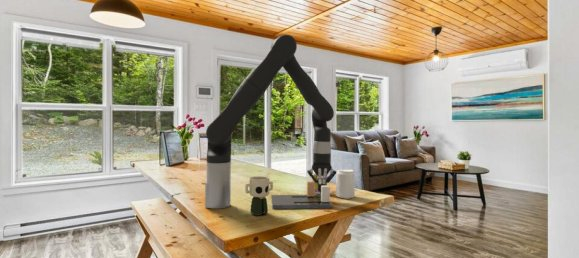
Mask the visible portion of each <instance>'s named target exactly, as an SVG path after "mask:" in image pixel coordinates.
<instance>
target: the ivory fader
mask: <svg viewBox="0 0 579 258" xmlns="http://www.w3.org/2000/svg"><path fill="white" fill-rule="evenodd" d="M330 194H331V186H330V185H327V186H321V194H320V195H321V201H322V202H330V201H331V200H330V198H331V197H330V196H331V195H330ZM330 203H331V202H330Z"/></svg>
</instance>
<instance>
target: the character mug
mask: <svg viewBox="0 0 579 258" xmlns="http://www.w3.org/2000/svg"><path fill="white" fill-rule="evenodd" d="M244 186H245V187H244V188H245V191H244V192H245V194H249V196H251V197H252V198H251V203H250V213H251V214H252V215H256V216H258V215H259V216H260V215H262V214H263V215H266V214H268V212H269V211H268V210H269V209H268V208H269V207H268V200H267V197H268V196H269V194H270V191H273V189H274V188H273V187H274V182H273V181H270V177H269V176H263V175H260V176H259V175H257V176H251V177H249V183H246V184H245V185H244Z"/></svg>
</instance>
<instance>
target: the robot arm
mask: <svg viewBox="0 0 579 258" xmlns="http://www.w3.org/2000/svg"><path fill="white" fill-rule="evenodd" d="M297 46H298V45H297V41H296V39H295V38H294V37H293V36H292V35H289V34H282V35H279V36H277V38H275V39H274V40H273V41H272V42H271V45H270V50H269V51H268V53H267V54H266V56H265V57H264V58H263V59H262V61H261V62H260V63H259V64H258V65H257V66H256V67H255V68H254V69H252V70H251V71H250V72H249V74H247V76H246V77H245V78H244V79H243V81H242V82H241V83H240V85H239V86H238V88H237V89H236V90H235V92H234V93H233V95H232V97H231V98H230V100H229V102H228V103H227V105H226V106H225V108H224V109H223V110H222V111H221V112H220V113H219V115H217V117H216V118H214V120H213V121H211V123H209V124H208V126H207V128H206V130H205V136H206V139H207V149H206V150H207V151H206V182H205V185H204V187H205V188H204V191H205V192H204V194H205V195H204V199H205V200H204V201H205V202H204V208H205V209H206V208H209V209H225V208H229V207H230V206H231V202H232V200H231V193H232V191H231V189H232V188H231V183H232V182H231V181H232V178H231V177H232V171H231V168H232V135H233V132H234V131H235V129H236V128H237V126H238V124H239V123H240V121H241V120H242V119H243V118H244V117H245V116H246V114H248V113H249V112H250V111H251V109H252V108H254V106H255V105H256V104H257V103H258V101H260V99H261V98H262V97H263V95H264V94H265V93H266V91H268V88H269V86H270V85H271V84H272V82H273V81H274V80H275V78H276V76H277V75H278V73H279V72H280V70H281V69H282V68H283V69H284V70H285V72H286V73H287V74H288V76H289V77H290V79H291V80H292V82H293V83H294V85H295V87H296V88H297V90H298V91H299V93H300V94H301V96H302V98H303V99H304V101H305V102H306V103H307V104H308V105H309V106H311V107H312V108H313V109H312V112H311V121H312V127H313V148H312V154H313V155H312V165H311V167H310V169H308V170H307V171H306V172H307V174H308V175H309V177H310V178H311V179H312V181H314V182H315V183H318V191H319V192H320V193H321V186H325V184H326V183H327V184H329V183H330V182H331V181H332V180H333V178H334V177H336V173H337V170H334V169H333V167H332V157H331V156H332V155H331V154H332V144H331V143H332V142H331V137H332V136H331V134H332V133H331V132H332V131H331V128H329V127H328V123H327V122H330V121H331V120H332V119H333V118H334V115H335V113H334V111H335V110H334V108H333V106H332V105H331V103H330V102H329V101H328V100H327V99H326V98H325V96H324V95H322V93H321V92H320V90H319V88H318V87H317V85H316V83H315V82H314V80H313V79H312V77H310V75H309V74H308V73H307V72H306V71H305V70H304V69H303V68H302V66H301V65H300V63H299V62H298V60H297V58H296V56H295V54H296V51H297V48H298V47H297ZM313 172H315V174H316V175H317V179H318V180H317V179H316V178H315V177H314V176H313ZM326 175H327V179H326ZM321 176H322V183H321Z"/></svg>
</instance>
